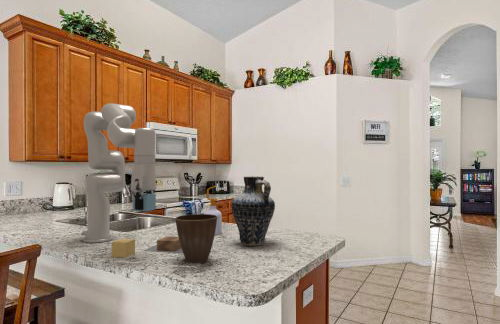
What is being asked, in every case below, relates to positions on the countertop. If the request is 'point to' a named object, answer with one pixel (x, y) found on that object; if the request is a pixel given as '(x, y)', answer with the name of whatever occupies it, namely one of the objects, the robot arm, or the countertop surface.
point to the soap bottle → (215, 213)
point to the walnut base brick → (168, 244)
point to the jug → (253, 211)
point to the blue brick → (147, 202)
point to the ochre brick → (123, 247)
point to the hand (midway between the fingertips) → (144, 208)
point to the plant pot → (196, 236)
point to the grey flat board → (162, 251)
